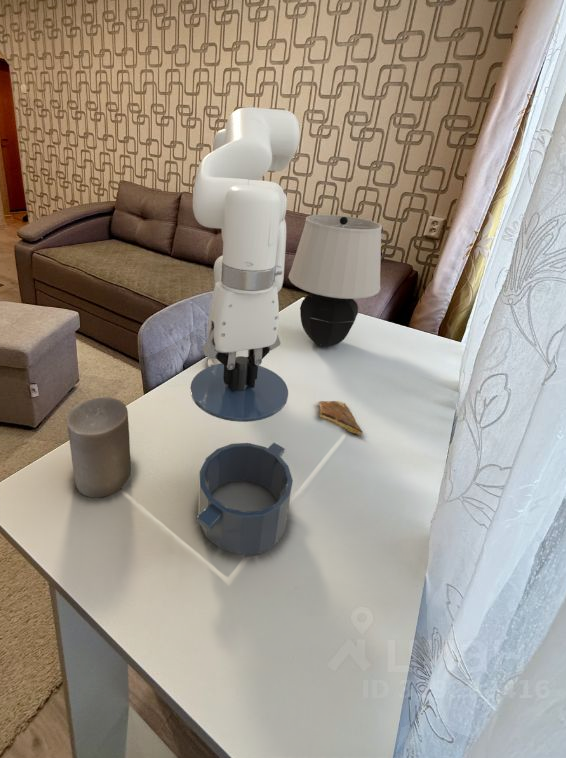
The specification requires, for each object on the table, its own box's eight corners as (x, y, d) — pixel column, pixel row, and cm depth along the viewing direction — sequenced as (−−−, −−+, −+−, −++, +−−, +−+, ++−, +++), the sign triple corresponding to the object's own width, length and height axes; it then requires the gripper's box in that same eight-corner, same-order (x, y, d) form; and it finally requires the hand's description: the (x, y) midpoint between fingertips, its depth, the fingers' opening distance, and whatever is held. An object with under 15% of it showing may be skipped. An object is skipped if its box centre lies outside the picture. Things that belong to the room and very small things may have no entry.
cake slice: (361, 437, 85) (363, 430, 85) (327, 438, 84) (329, 432, 84) (343, 406, 95) (345, 400, 95) (313, 407, 94) (314, 400, 93)
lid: (169, 394, 62) (169, 360, 60) (232, 358, 74) (233, 328, 72) (248, 441, 54) (252, 403, 51) (305, 391, 66) (310, 359, 63)
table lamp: (316, 318, 143) (333, 206, 128) (383, 348, 125) (412, 222, 110) (263, 338, 126) (276, 211, 110) (332, 375, 108) (358, 230, 92)
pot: (167, 530, 62) (167, 490, 59) (244, 458, 77) (247, 423, 74) (240, 592, 54) (244, 550, 51) (309, 499, 69) (316, 462, 66)
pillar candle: (140, 462, 75) (138, 396, 69) (114, 504, 66) (108, 433, 60) (93, 451, 76) (87, 386, 70) (61, 491, 67) (51, 420, 62)
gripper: (285, 265, 63) (274, 365, 69) (185, 271, 56) (184, 380, 63) (309, 280, 56) (294, 389, 63) (201, 288, 50) (197, 408, 57)
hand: (239, 384), depth 63 cm, fingers closed on lid, 2 cm apart
